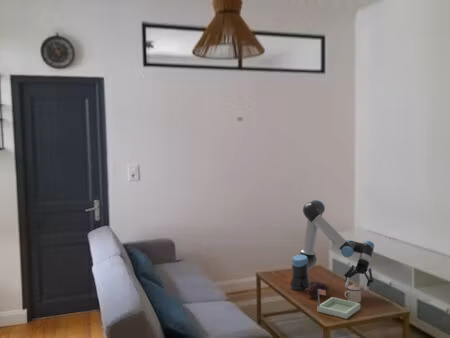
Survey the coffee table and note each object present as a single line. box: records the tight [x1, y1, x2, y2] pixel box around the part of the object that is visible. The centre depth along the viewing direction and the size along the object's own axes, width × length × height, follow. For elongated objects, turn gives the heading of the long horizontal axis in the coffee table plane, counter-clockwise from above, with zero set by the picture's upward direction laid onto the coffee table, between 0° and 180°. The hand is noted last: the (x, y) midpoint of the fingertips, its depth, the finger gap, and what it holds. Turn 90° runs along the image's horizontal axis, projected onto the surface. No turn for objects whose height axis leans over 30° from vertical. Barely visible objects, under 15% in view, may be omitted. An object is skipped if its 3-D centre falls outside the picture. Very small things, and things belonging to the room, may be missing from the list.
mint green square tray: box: [316, 289, 361, 320], centre depth 282 cm, size 20×20×14 cm
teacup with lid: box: [344, 283, 362, 303], centre depth 297 cm, size 12×9×12 cm
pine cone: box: [304, 282, 330, 298], centre depth 307 cm, size 18×10×10 cm, turn 101°
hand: (355, 288), depth 298 cm, fingers open, 13 cm apart
